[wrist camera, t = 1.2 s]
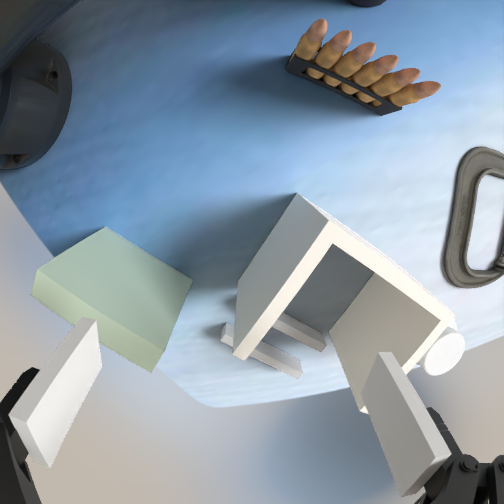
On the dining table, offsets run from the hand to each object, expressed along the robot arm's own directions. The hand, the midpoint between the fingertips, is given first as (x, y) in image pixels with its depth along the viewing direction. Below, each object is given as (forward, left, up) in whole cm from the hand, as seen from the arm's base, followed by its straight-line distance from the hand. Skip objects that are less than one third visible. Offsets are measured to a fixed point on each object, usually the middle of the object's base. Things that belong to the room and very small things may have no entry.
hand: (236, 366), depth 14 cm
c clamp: (+25, +21, -20) cm, 38 cm away
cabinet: (+8, -1, -19) cm, 21 cm away
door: (-8, -7, -20) cm, 22 cm away
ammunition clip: (-1, +19, -20) cm, 27 cm away
